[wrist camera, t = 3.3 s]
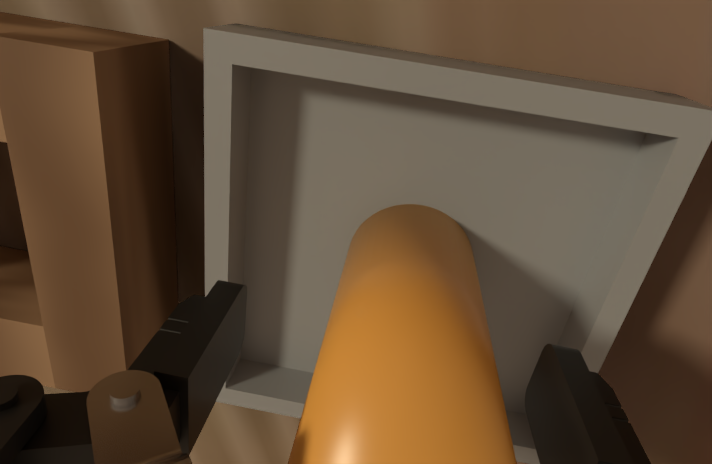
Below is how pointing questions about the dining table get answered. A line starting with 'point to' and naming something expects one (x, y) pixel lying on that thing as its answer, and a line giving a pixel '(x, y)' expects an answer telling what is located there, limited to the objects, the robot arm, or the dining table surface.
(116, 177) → the socket block
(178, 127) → the dining table surface
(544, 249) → the tray
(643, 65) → the dining table surface
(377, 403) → the plug
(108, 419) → the robot arm
